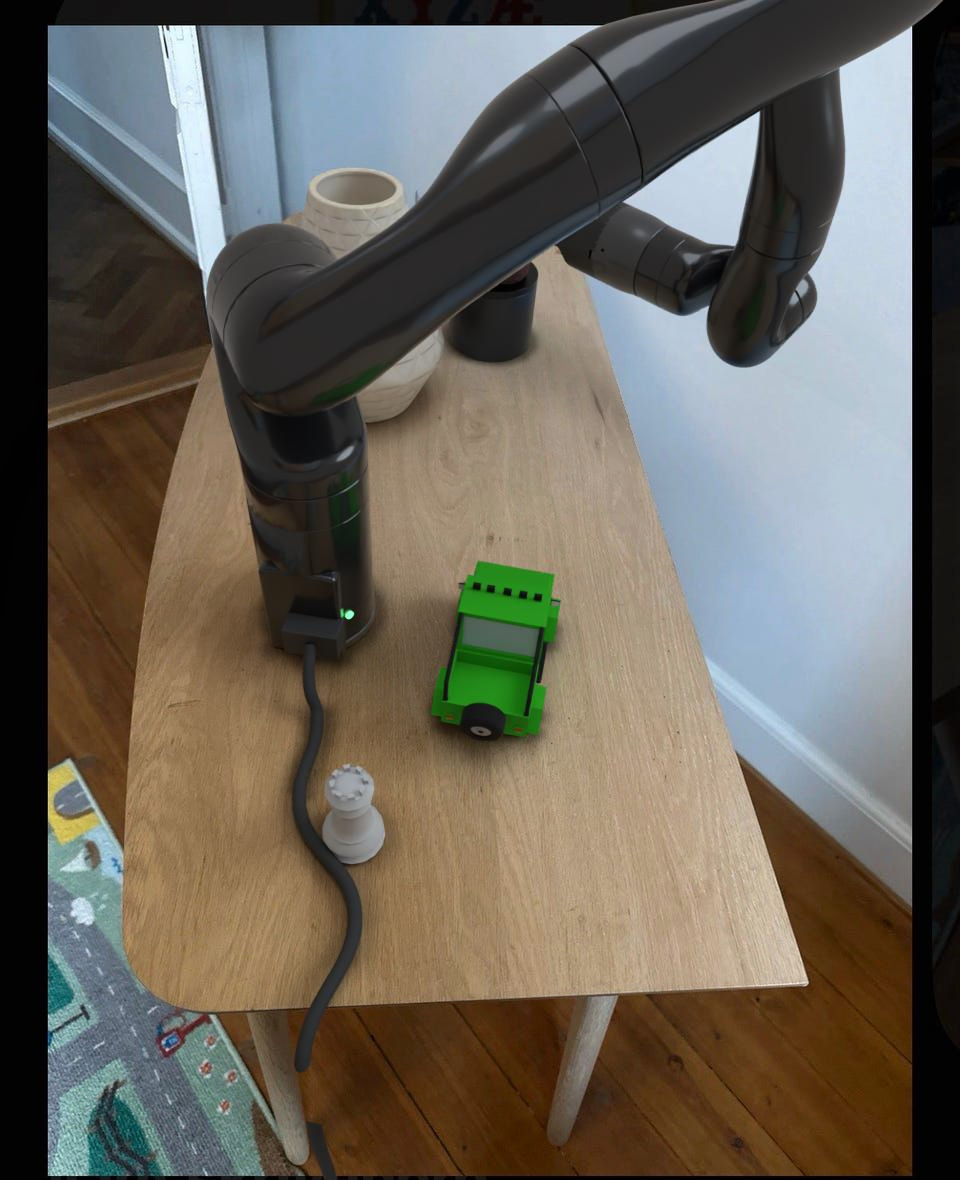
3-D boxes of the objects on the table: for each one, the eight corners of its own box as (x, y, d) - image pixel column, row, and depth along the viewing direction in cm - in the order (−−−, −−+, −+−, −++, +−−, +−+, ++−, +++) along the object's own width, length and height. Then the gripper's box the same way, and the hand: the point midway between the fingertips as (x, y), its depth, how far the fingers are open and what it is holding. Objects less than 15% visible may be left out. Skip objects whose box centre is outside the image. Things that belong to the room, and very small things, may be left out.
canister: (525, 367, 104) (533, 297, 98) (442, 355, 105) (444, 285, 98) (534, 323, 111) (542, 255, 104) (456, 312, 111) (459, 244, 105)
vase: (413, 457, 92) (414, 246, 75) (258, 421, 94) (226, 208, 77) (460, 368, 103) (471, 167, 86) (322, 338, 106) (306, 136, 88)
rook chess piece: (386, 809, 65) (384, 751, 59) (384, 867, 62) (381, 812, 56) (325, 809, 64) (317, 750, 58) (319, 867, 61) (310, 812, 55)
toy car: (558, 611, 79) (574, 531, 71) (530, 777, 67) (546, 702, 60) (465, 594, 79) (472, 513, 72) (422, 756, 68) (425, 679, 60)
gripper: (668, 188, 88) (547, 136, 95) (579, 230, 81) (455, 170, 88) (653, 259, 94) (539, 205, 101) (568, 304, 87) (452, 242, 94)
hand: (500, 189), depth 94 cm, fingers open, 8 cm apart
